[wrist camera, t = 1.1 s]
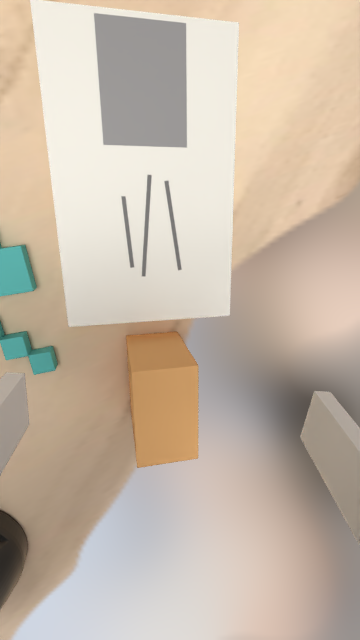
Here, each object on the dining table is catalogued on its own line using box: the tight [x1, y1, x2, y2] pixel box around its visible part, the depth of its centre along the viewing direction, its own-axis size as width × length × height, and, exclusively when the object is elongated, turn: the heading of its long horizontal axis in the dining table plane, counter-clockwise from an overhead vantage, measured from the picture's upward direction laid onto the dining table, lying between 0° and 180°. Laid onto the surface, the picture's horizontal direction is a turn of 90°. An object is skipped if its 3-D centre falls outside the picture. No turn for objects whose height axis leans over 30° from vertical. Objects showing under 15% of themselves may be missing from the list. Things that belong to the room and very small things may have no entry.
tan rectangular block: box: [126, 332, 198, 468], centre depth 35 cm, size 10×6×10 cm, turn 1°
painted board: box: [30, 0, 239, 327], centre depth 32 cm, size 28×18×2 cm, turn 1°
